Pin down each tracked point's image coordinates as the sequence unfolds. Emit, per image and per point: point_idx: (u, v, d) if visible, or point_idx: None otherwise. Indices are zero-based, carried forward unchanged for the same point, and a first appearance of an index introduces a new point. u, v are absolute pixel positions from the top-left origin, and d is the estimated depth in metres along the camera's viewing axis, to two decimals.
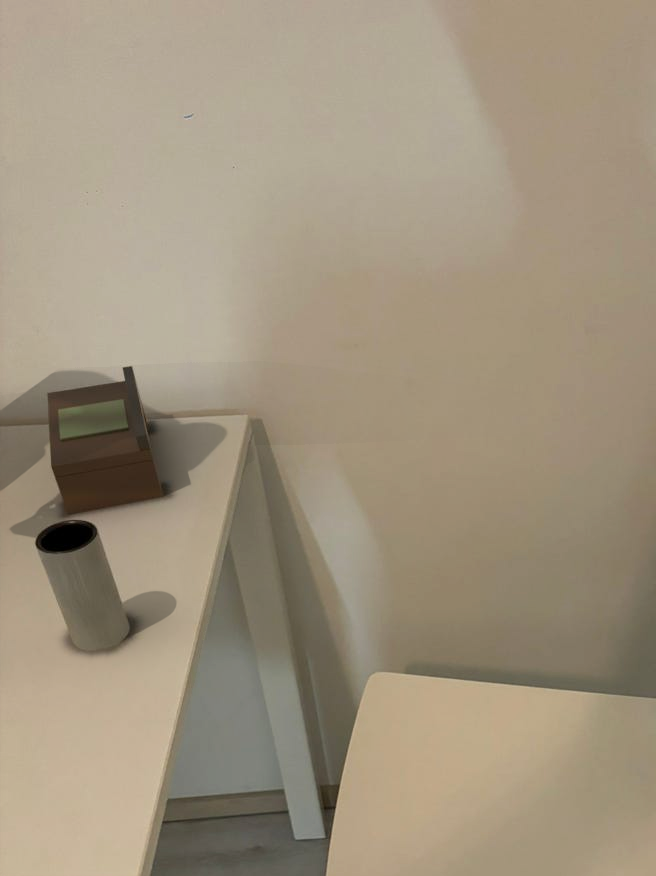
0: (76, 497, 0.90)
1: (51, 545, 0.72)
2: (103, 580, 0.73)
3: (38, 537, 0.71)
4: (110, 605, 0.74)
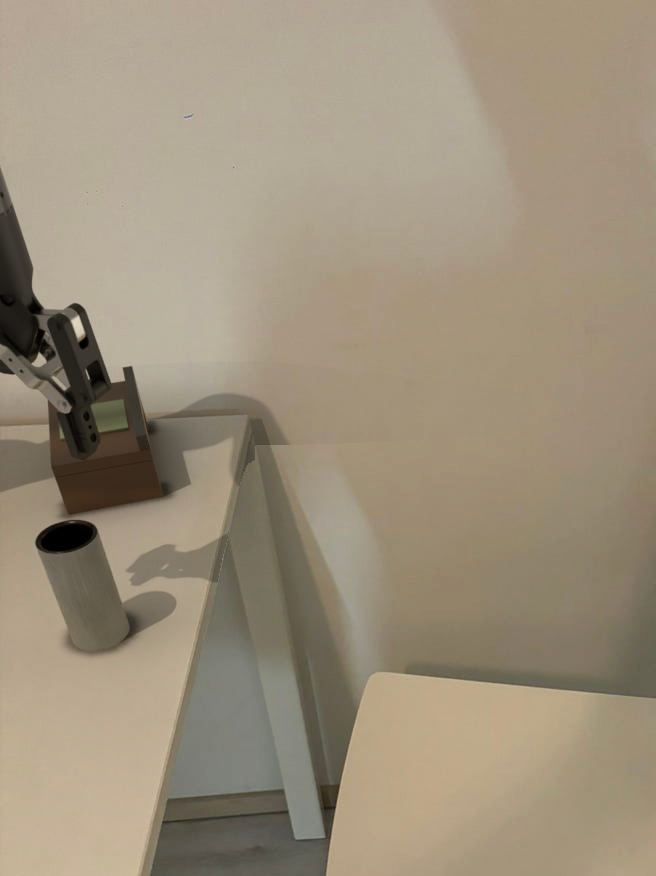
0: (76, 497, 0.90)
1: (51, 545, 0.72)
2: (103, 580, 0.73)
3: (38, 537, 0.71)
4: (110, 605, 0.74)
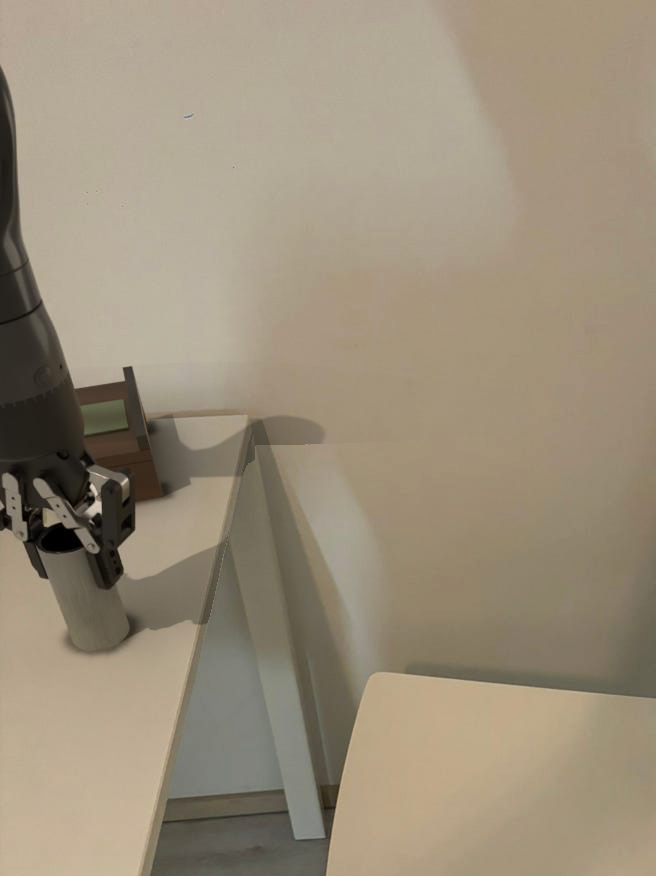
0: None
1: (51, 545, 0.72)
2: None
3: (38, 537, 0.71)
4: (110, 605, 0.74)
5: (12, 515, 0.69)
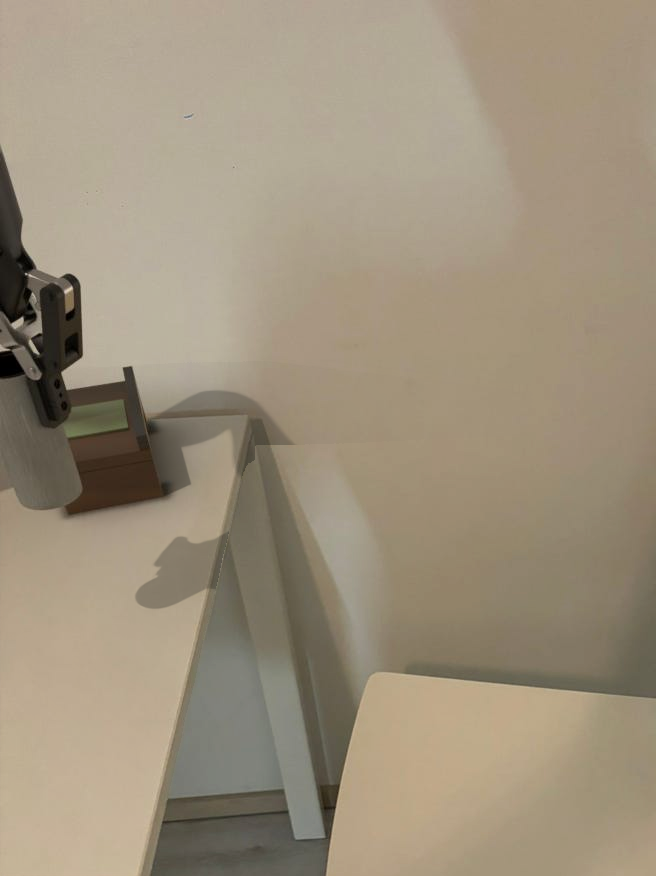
0: None
1: None
2: None
3: None
4: (57, 450, 0.66)
5: None
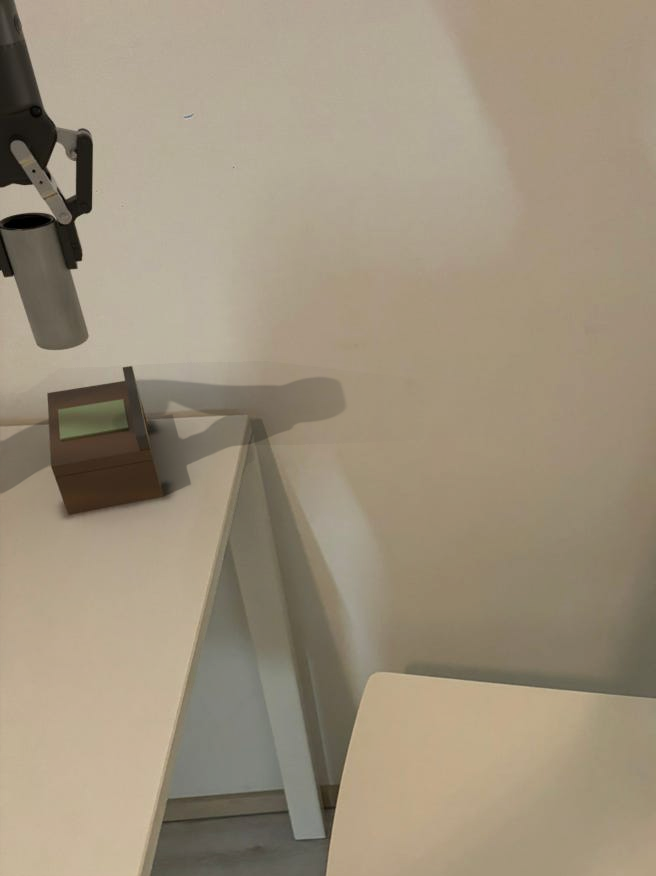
0: (76, 497, 0.90)
1: None
2: None
3: (1, 226, 0.77)
4: (75, 291, 0.82)
5: None
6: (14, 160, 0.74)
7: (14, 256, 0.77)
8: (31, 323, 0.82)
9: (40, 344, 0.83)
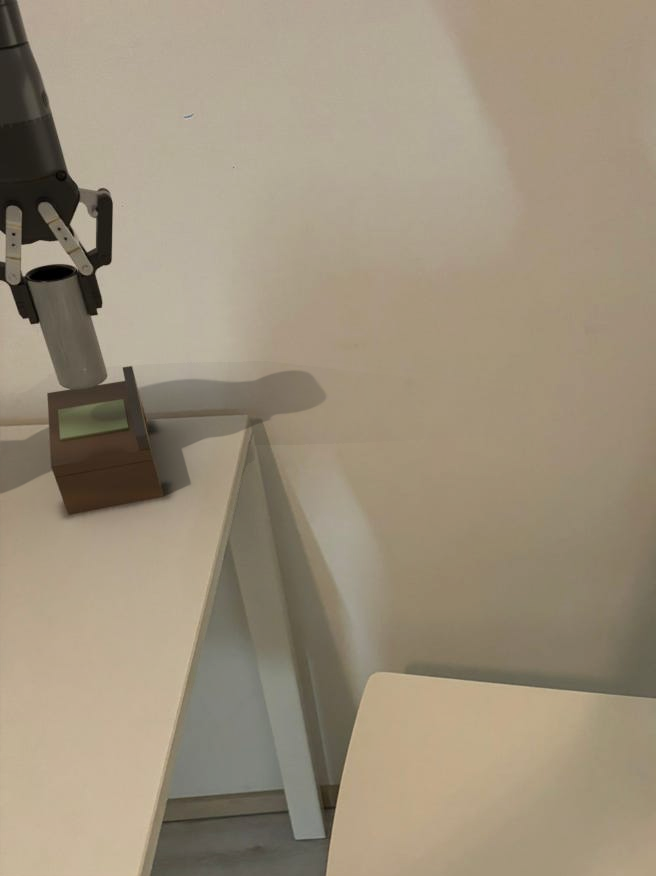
0: (76, 497, 0.90)
1: None
2: None
3: (28, 278, 0.83)
4: (95, 335, 0.88)
5: (11, 254, 0.81)
6: (41, 219, 0.80)
7: (40, 305, 0.84)
8: (55, 365, 0.88)
9: (63, 384, 0.89)
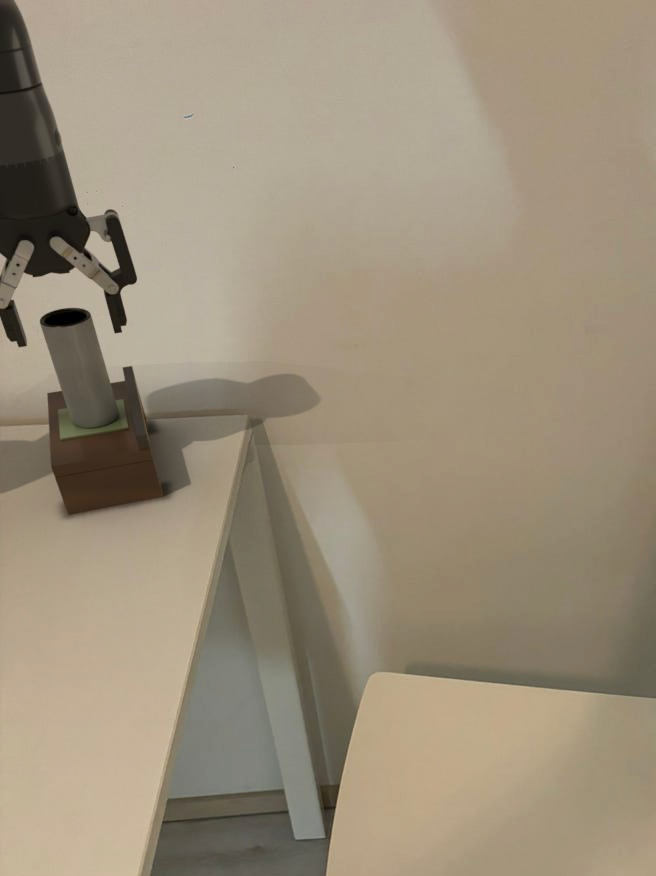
0: (76, 497, 0.90)
1: None
2: None
3: (43, 322, 0.86)
4: (107, 375, 0.91)
5: (8, 281, 0.82)
6: (52, 253, 0.82)
7: (54, 349, 0.87)
8: (68, 405, 0.91)
9: (76, 423, 0.92)
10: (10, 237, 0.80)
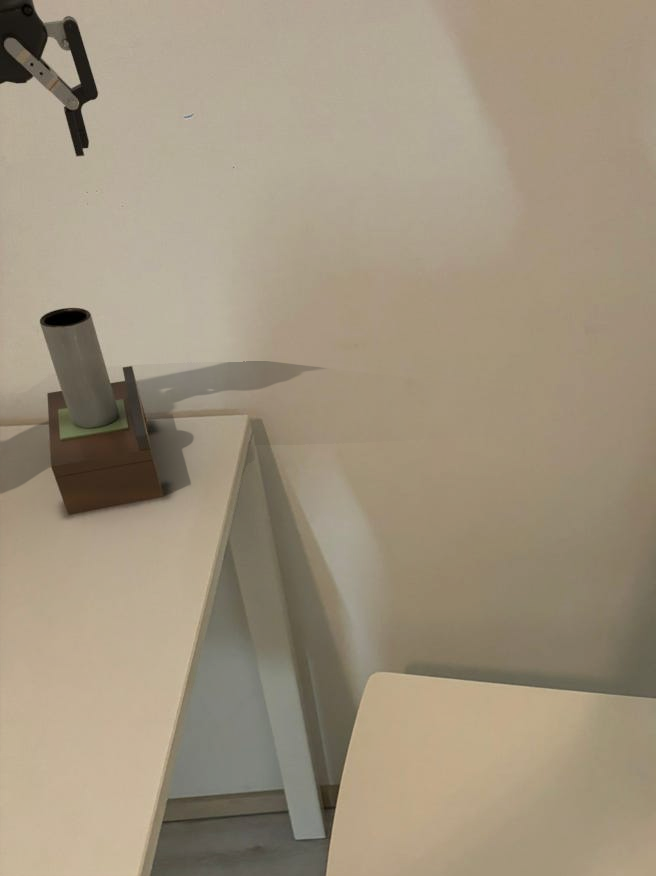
0: (76, 497, 0.90)
1: None
2: None
3: (43, 322, 0.86)
4: (107, 375, 0.91)
5: None
6: (7, 58, 0.79)
7: (54, 349, 0.87)
8: (68, 405, 0.91)
9: (76, 423, 0.92)
10: None
